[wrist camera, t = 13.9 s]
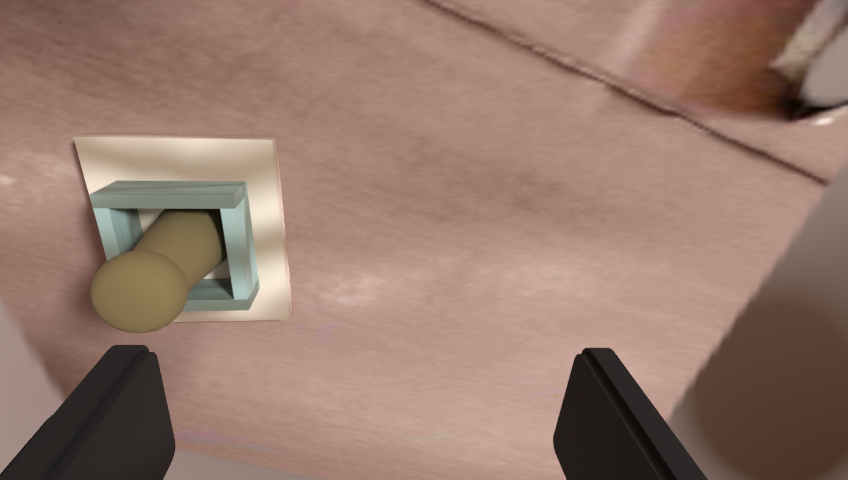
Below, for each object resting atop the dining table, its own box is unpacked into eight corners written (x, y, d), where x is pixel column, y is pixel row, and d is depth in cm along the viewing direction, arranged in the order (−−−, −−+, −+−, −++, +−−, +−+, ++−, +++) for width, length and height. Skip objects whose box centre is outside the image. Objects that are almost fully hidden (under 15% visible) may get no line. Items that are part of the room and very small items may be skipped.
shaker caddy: (85, 132, 34) (39, 146, 29) (276, 136, 35) (260, 150, 31) (132, 313, 40) (101, 348, 36) (292, 310, 41) (282, 343, 37)
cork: (165, 267, 37) (85, 350, 27) (149, 198, 35) (55, 260, 25) (240, 266, 38) (190, 347, 28) (230, 198, 35) (170, 259, 25)
